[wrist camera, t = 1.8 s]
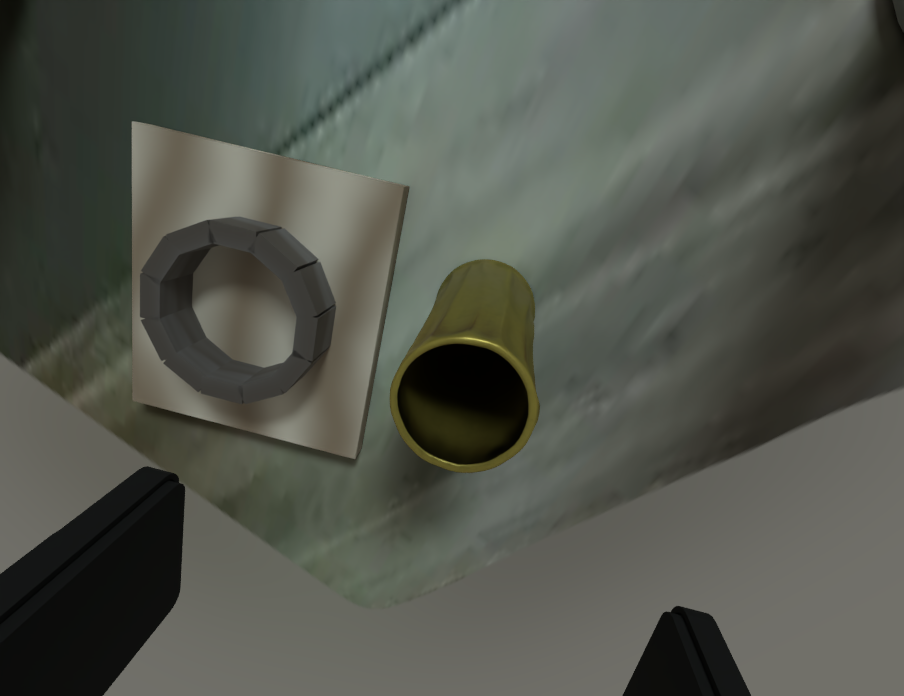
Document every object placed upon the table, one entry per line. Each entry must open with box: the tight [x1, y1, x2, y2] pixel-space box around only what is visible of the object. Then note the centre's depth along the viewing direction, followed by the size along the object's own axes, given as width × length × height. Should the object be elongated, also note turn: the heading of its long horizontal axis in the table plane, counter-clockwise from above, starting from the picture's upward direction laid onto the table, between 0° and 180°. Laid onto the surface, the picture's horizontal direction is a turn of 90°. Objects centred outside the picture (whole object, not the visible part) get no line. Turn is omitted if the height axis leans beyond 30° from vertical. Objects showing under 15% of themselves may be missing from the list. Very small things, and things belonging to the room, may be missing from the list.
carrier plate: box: [132, 121, 409, 459], centre depth 30 cm, size 16×18×4 cm
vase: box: [390, 259, 540, 473], centre depth 23 cm, size 6×6×14 cm
